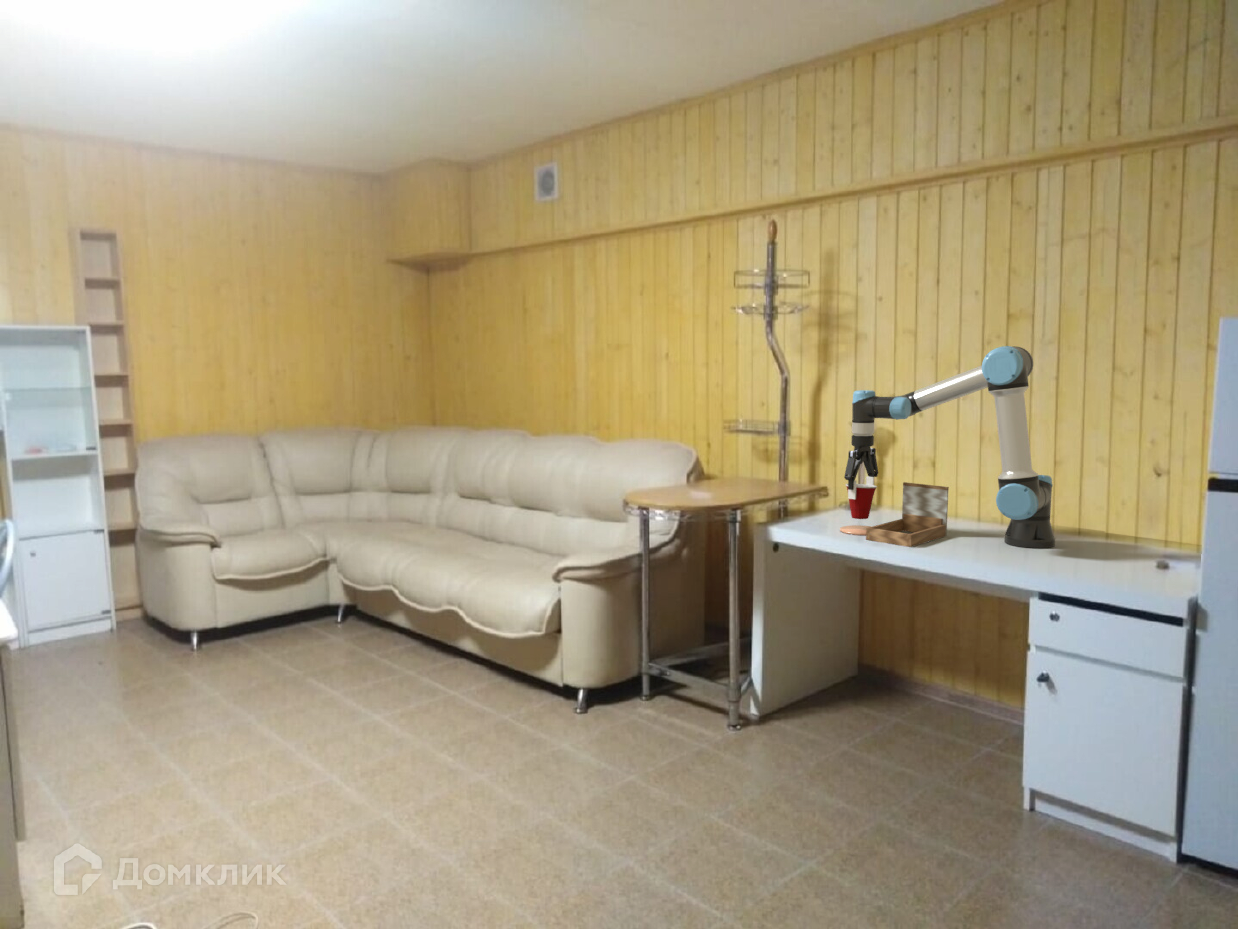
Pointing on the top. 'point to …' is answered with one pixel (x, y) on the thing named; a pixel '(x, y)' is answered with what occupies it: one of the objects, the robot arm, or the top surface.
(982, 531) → the top surface
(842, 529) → the saucer
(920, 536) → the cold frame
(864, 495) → the plastic cup
